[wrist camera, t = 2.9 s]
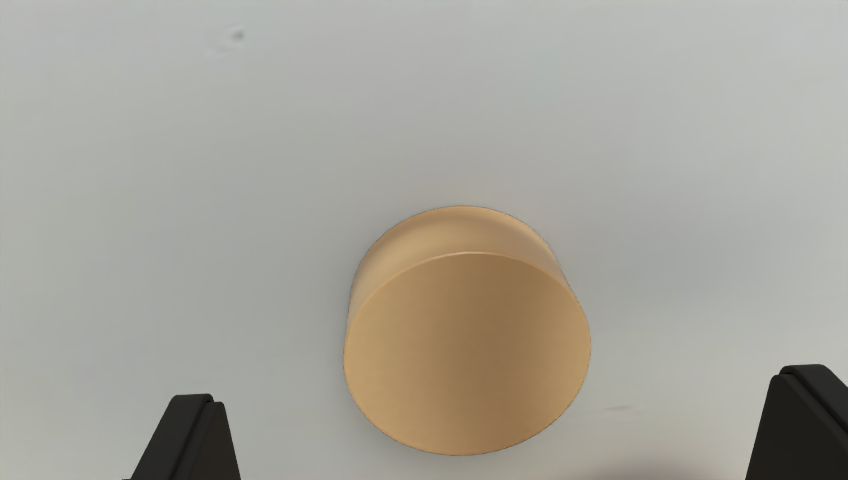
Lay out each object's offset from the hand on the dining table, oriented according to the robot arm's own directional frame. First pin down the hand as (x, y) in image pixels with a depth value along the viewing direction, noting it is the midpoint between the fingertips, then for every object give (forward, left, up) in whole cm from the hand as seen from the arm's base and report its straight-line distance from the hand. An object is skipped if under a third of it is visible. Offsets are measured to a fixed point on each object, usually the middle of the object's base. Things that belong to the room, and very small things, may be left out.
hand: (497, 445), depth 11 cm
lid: (0, 0, -6) cm, 6 cm away
